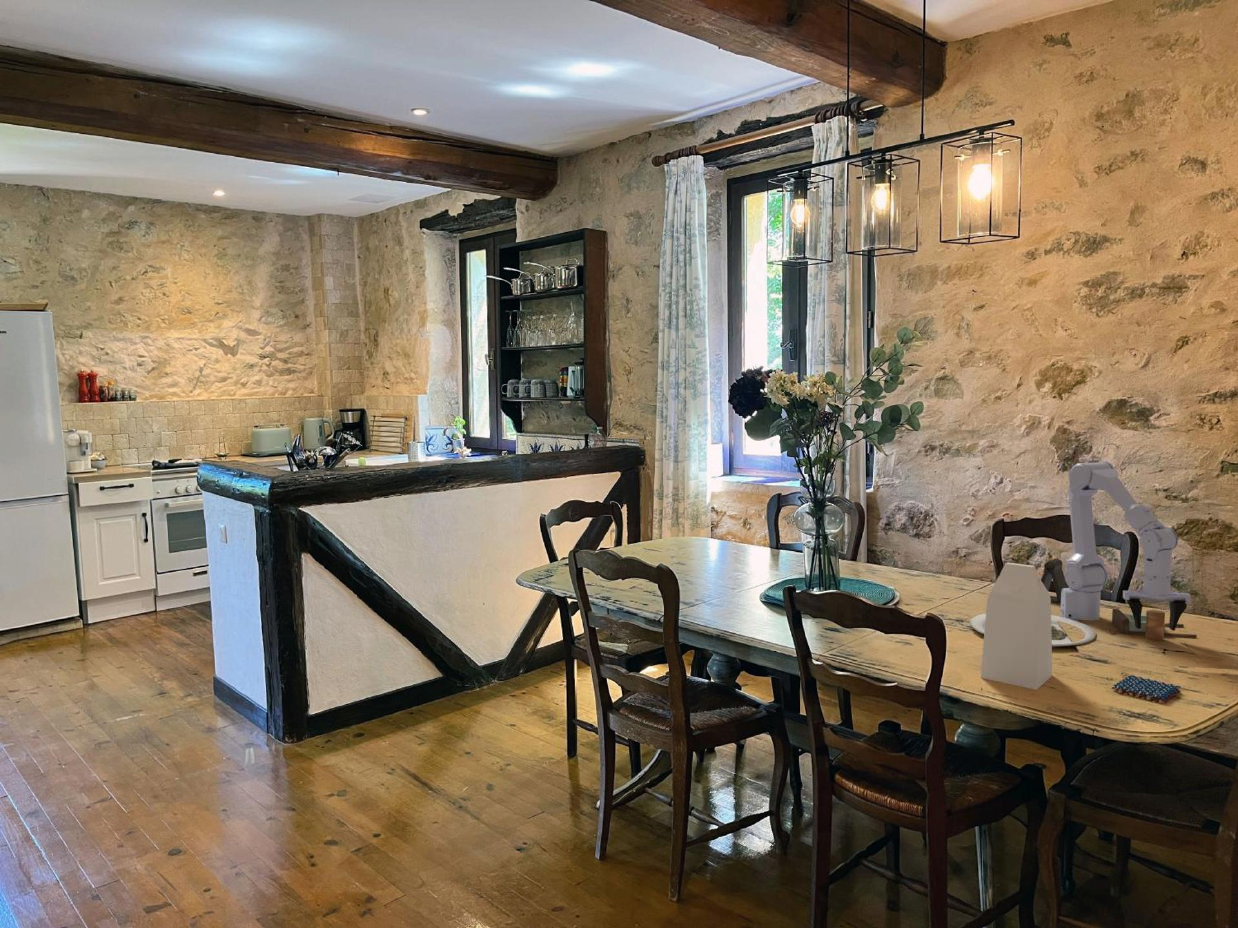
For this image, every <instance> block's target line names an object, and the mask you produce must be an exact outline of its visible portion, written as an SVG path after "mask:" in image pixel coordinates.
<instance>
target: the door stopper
mask: <svg viewBox="0 0 1238 928" xmlns="http://www.w3.org/2000/svg"><path fill="white" fill-rule="evenodd" d="M1063 565H1064V564H1063V561H1062V560H1061V559H1060V558H1058V559H1056V558H1054V559H1051V560H1049V561H1047V562H1046V563H1044V565H1043V566H1044V567H1043V568H1044V572H1043V573H1042V576H1041V577H1040V580H1041V581H1042V583H1043V584H1044V586H1045V587H1046V589H1047V590H1048V592H1049V591H1050V587H1051V584H1052V583H1053V587H1054V591H1055V595H1056V596H1055V595H1050V598H1051V603H1055V604H1060V605H1061V592H1062V589H1063V588H1069V586H1068V585H1067V583H1066V581H1065V573H1064V571H1063Z"/></svg>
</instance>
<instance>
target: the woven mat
mask: <svg viewBox="0 0 1238 928" xmlns="http://www.w3.org/2000/svg"><path fill="white" fill-rule="evenodd" d="M1180 688H1181V685H1175V684H1173V683H1166V682H1164V681H1158V680H1157V679H1154V680H1153V679H1151V678H1146V677H1145V678H1143V676H1138V675H1135V674H1131V675H1128V676H1127V677H1124V678H1123V679H1121V680H1119V681H1118V682H1116V684H1113V686H1111V689H1112V692H1113V693H1116V692H1117V693H1118V694H1123V695H1124V696H1127V695H1129V696H1130V697H1133V696H1134V697H1135V698H1141V699H1143V700H1146V701H1152V703H1155V702H1158V703H1159V704H1163V703H1167V702H1168V701H1169V700H1170V699H1173V697H1174V696H1176V695H1177V694H1178V693H1181V692H1182V691H1181V689H1180Z"/></svg>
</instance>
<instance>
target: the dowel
mask: <svg viewBox="0 0 1238 928" xmlns="http://www.w3.org/2000/svg"><path fill="white" fill-rule="evenodd" d="M1145 615H1146V629H1145V635H1144V639H1145V640H1146V641H1147V640H1148V641H1151V642H1163V641H1164V640H1165V636H1164V623H1166V622H1165V620H1166V619H1165V618H1166V613H1165V612H1164V611H1163V610H1162V611H1160V610H1154V609H1148V610H1146V611H1145Z"/></svg>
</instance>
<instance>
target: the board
mask: <svg viewBox="0 0 1238 928" xmlns="http://www.w3.org/2000/svg"><path fill="white" fill-rule="evenodd" d="M1111 610H1112V613H1111V614H1112V615H1111V616H1112V618H1111V624H1112V625H1113V626H1114V627H1115V628H1116V629H1117V630H1118V632H1120V633H1121V634H1122V635H1135V636H1137V635H1138V636H1145V632H1140V631H1129V619H1128V618H1127V617H1126V616H1125V615H1124V614H1125V613H1124V614H1123V612H1122V611H1121V610H1120V609H1119V608H1112V609H1111ZM1184 625H1185V624H1183V623H1177V625H1176V628H1184V627H1185V626H1184ZM1166 627H1168V628H1169V623H1168V622H1167V623H1166V622H1165V628H1166ZM1164 637H1172V638H1173V637H1174V638H1189V639H1197V634H1192V633H1191V634H1190V633H1175V632H1174V633H1172V632H1165V633H1164Z"/></svg>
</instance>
